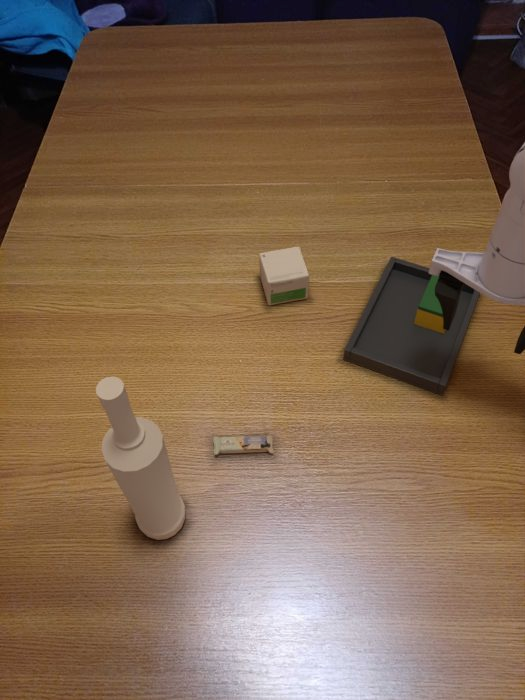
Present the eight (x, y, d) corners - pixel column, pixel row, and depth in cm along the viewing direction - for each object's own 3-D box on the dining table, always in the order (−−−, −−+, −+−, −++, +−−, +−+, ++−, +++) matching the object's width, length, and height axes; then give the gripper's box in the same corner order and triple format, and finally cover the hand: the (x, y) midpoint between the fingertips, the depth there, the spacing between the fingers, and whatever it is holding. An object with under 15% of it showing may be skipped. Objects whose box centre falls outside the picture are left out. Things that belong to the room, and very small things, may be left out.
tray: (479, 295, 82) (483, 284, 81) (442, 395, 73) (445, 386, 71) (389, 266, 86) (391, 256, 84) (342, 359, 77) (344, 349, 75)
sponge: (444, 334, 78) (450, 316, 75) (413, 323, 79) (418, 306, 76) (458, 296, 82) (465, 278, 79) (429, 287, 83) (434, 268, 80)
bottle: (141, 548, 63) (77, 426, 43) (134, 501, 66) (71, 368, 46) (191, 534, 64) (150, 408, 44) (181, 489, 67) (139, 352, 47)
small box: (267, 307, 82) (267, 282, 78) (259, 276, 85) (257, 251, 81) (309, 300, 83) (310, 274, 79) (298, 269, 86) (299, 244, 82)
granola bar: (213, 457, 69) (212, 452, 68) (213, 438, 70) (213, 434, 69) (273, 455, 69) (273, 450, 68) (272, 436, 70) (272, 432, 69)
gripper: (613, 237, 56) (558, 330, 67) (455, 194, 60) (428, 289, 71) (602, 289, 52) (546, 379, 63) (434, 240, 56) (409, 332, 67)
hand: (483, 334), depth 67 cm, fingers open, 7 cm apart
